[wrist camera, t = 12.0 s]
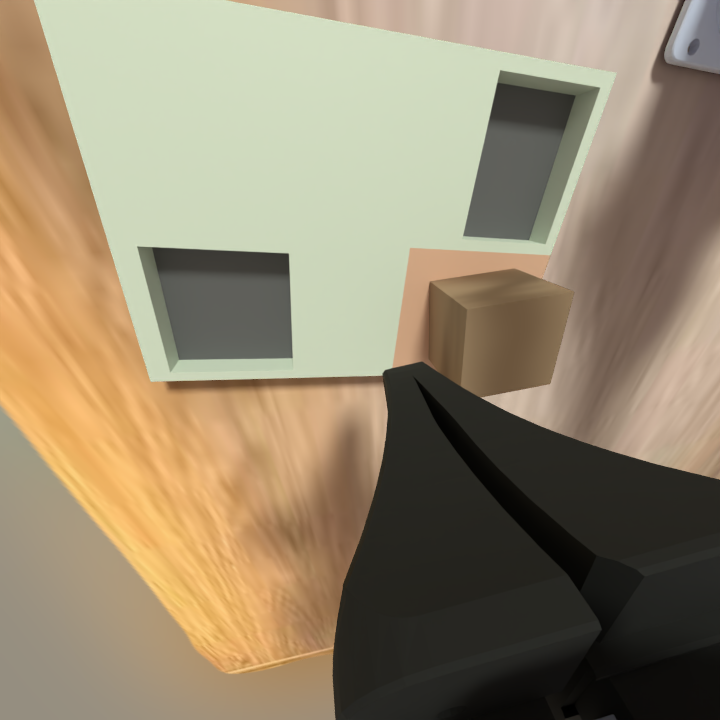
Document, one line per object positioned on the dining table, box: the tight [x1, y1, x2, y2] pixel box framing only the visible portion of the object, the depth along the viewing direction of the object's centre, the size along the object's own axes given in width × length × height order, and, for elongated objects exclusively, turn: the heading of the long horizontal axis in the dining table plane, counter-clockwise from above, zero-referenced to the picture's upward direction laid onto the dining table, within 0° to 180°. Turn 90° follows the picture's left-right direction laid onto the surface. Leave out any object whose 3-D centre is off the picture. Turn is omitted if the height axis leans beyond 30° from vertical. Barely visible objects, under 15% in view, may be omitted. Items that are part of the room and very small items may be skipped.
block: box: [429, 268, 574, 397], centre depth 15 cm, size 4×4×4 cm
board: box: [34, 0, 617, 382], centre depth 14 cm, size 20×14×2 cm
